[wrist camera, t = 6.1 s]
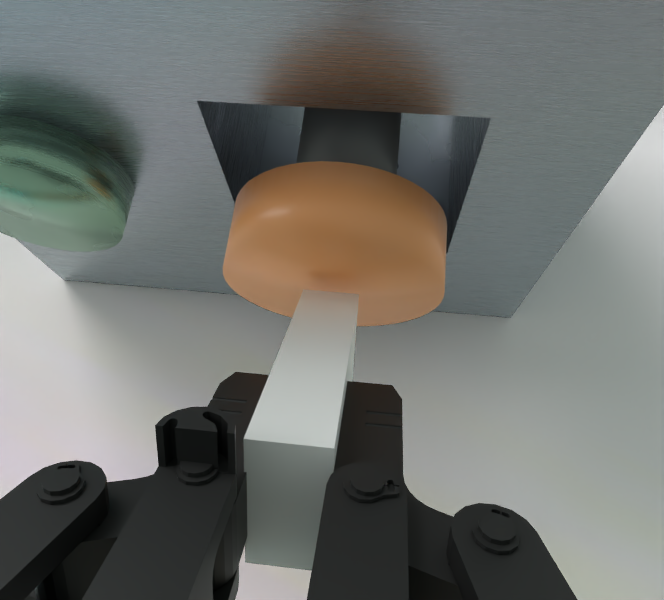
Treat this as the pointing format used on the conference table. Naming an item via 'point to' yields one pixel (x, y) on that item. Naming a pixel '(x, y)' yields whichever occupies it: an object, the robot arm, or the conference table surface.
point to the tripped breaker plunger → (340, 224)
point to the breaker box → (287, 116)
